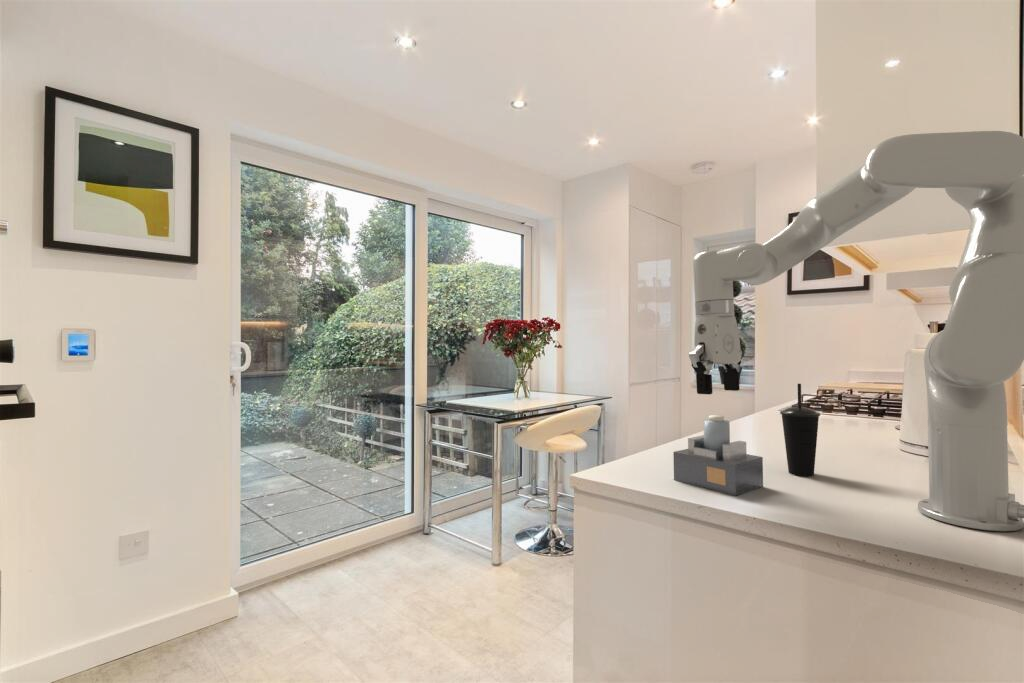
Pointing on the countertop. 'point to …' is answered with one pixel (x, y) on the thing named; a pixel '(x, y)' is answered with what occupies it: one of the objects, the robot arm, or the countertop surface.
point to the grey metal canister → (716, 433)
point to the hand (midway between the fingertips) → (718, 392)
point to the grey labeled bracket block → (719, 467)
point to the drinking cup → (800, 438)
